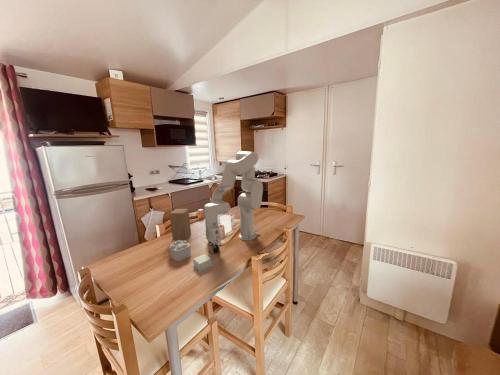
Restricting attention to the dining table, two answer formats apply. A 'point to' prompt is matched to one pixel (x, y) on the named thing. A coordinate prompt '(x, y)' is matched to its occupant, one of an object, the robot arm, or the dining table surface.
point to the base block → (202, 262)
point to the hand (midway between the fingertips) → (213, 250)
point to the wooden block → (180, 224)
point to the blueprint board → (203, 269)
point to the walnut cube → (211, 247)
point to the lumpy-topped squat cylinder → (180, 250)
